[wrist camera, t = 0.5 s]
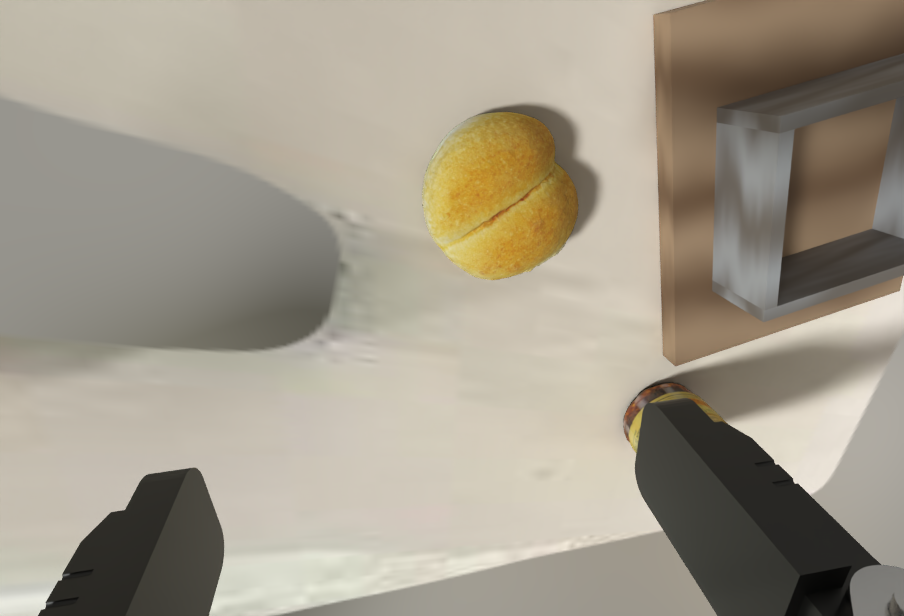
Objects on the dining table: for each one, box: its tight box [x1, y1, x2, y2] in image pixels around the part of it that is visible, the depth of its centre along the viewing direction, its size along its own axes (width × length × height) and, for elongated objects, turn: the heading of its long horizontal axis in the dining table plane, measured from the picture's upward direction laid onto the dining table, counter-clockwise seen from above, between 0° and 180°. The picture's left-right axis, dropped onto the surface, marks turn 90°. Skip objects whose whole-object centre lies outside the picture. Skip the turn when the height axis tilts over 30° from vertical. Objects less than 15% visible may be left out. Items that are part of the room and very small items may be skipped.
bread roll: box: [422, 112, 578, 280], centre depth 27 cm, size 8×9×4 cm
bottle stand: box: [653, 0, 904, 366], centre depth 30 cm, size 22×18×6 cm
